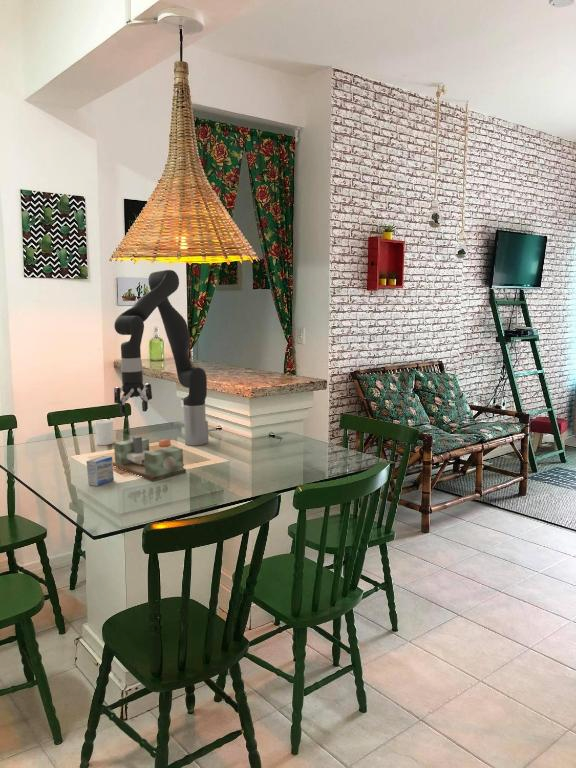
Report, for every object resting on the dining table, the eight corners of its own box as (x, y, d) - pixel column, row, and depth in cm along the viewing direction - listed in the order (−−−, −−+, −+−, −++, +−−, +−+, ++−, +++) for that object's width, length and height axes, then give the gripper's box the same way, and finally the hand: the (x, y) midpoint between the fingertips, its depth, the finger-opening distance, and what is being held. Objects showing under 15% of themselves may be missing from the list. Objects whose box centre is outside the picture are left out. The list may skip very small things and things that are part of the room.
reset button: (166, 444, 228) (166, 438, 228) (172, 445, 225) (172, 440, 225) (156, 446, 225) (156, 440, 225) (163, 447, 222) (162, 442, 222)
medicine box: (97, 486, 216) (95, 461, 215) (87, 485, 218) (86, 460, 217) (114, 480, 223) (112, 456, 222) (104, 478, 225) (103, 455, 224)
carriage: (145, 458, 244) (144, 434, 243) (154, 461, 240) (152, 436, 238) (127, 462, 239) (125, 438, 237) (135, 465, 234) (133, 440, 233)
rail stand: (145, 459, 250) (144, 436, 249) (186, 473, 230) (185, 448, 229) (112, 466, 241) (111, 443, 240) (152, 481, 220) (151, 456, 219)
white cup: (106, 440, 284) (105, 418, 282) (118, 442, 279) (116, 420, 278) (92, 444, 278) (90, 421, 276) (103, 446, 273) (102, 423, 272)
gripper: (144, 367, 243) (146, 409, 245) (109, 370, 234) (112, 414, 236) (154, 368, 237) (156, 411, 240) (118, 372, 228) (121, 417, 230)
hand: (134, 412), depth 238 cm, fingers open, 8 cm apart
